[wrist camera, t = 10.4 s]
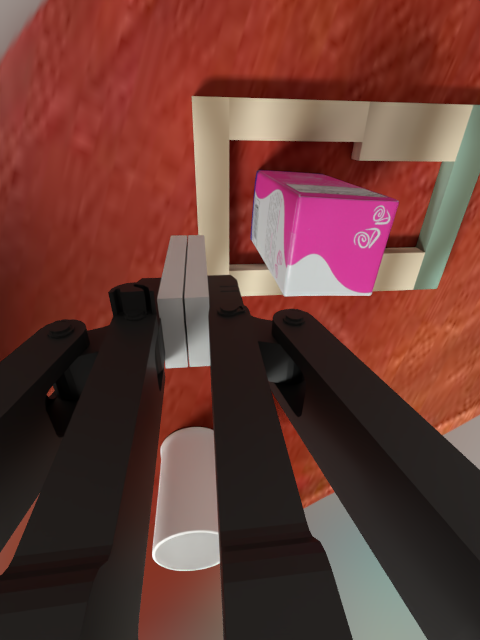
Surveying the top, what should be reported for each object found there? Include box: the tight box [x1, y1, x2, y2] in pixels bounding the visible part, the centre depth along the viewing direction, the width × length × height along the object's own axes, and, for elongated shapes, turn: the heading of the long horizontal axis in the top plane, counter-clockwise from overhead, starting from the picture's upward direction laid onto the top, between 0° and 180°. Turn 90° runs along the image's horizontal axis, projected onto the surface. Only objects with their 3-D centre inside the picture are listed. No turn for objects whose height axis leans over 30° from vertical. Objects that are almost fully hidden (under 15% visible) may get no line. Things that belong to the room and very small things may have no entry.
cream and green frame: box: [192, 96, 480, 296], centre depth 27 cm, size 23×15×2 cm, turn 89°
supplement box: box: [251, 170, 399, 296], centre depth 23 cm, size 6×6×12 cm
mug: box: [152, 427, 220, 571], centre depth 37 cm, size 12×8×12 cm
